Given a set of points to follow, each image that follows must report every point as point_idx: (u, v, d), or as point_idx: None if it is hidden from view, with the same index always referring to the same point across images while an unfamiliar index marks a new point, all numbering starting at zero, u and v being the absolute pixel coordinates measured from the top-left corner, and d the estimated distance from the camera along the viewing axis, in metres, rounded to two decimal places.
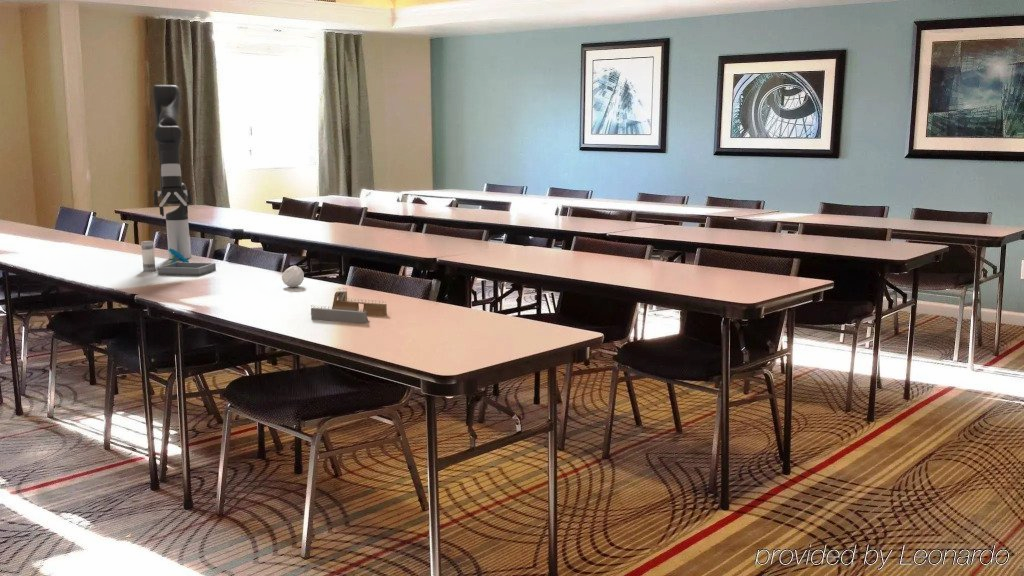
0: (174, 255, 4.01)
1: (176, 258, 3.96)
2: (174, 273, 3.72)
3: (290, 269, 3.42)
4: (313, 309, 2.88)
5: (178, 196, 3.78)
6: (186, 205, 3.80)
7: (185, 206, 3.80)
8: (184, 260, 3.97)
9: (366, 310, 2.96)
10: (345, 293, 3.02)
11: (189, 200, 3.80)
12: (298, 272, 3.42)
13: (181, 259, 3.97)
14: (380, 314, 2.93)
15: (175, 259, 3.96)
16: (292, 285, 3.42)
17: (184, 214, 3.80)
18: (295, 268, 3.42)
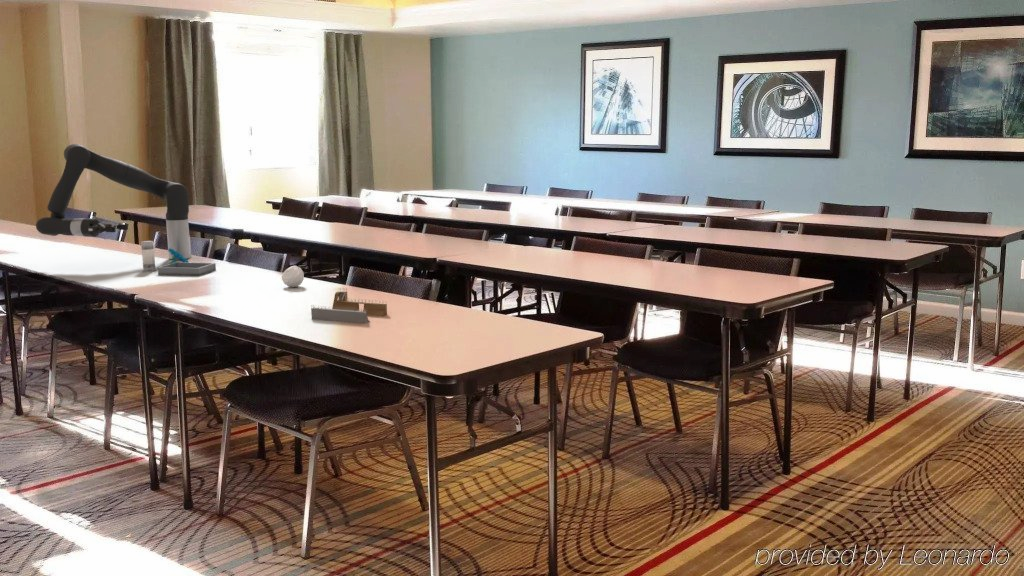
0: (174, 255, 4.01)
1: (176, 258, 3.96)
2: (174, 273, 3.72)
3: (290, 269, 3.42)
4: (313, 309, 2.88)
5: None
6: None
7: None
8: (184, 260, 3.97)
9: (366, 310, 2.96)
10: (345, 293, 3.02)
11: (98, 232, 3.77)
12: (298, 272, 3.42)
13: (181, 259, 3.97)
14: (380, 314, 2.93)
15: (175, 259, 3.96)
16: (292, 285, 3.42)
17: None
18: (295, 268, 3.42)
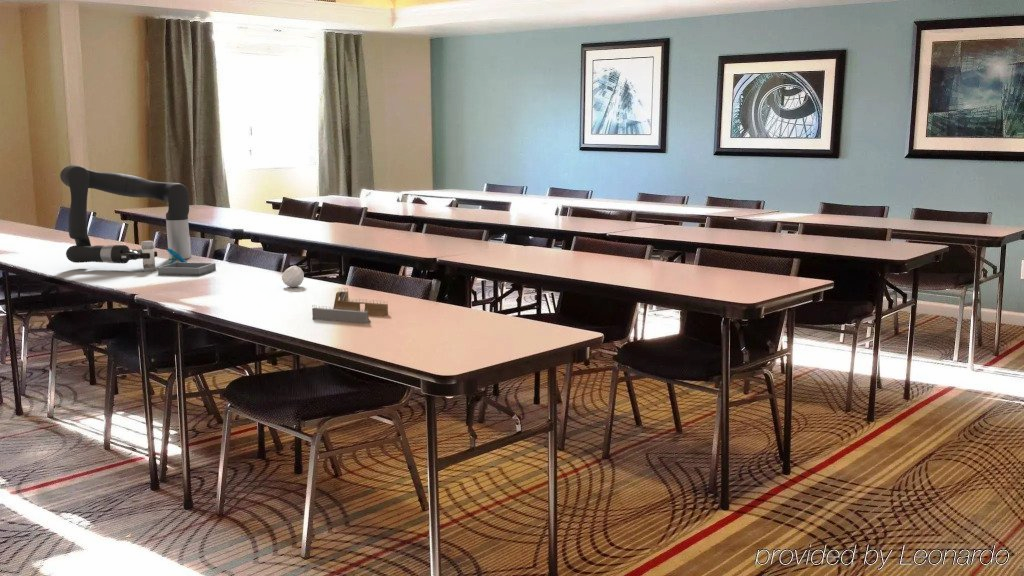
0: (173, 255, 4.01)
1: (174, 258, 3.95)
2: (174, 273, 3.72)
3: (290, 269, 3.42)
4: (314, 309, 2.88)
5: None
6: (140, 258, 3.80)
7: (141, 258, 3.80)
8: (182, 260, 3.96)
9: (367, 310, 2.96)
10: (346, 293, 3.02)
11: None
12: (298, 272, 3.42)
13: (179, 259, 3.97)
14: (381, 314, 2.93)
15: (173, 259, 3.96)
16: (292, 285, 3.42)
17: None
18: (295, 268, 3.42)
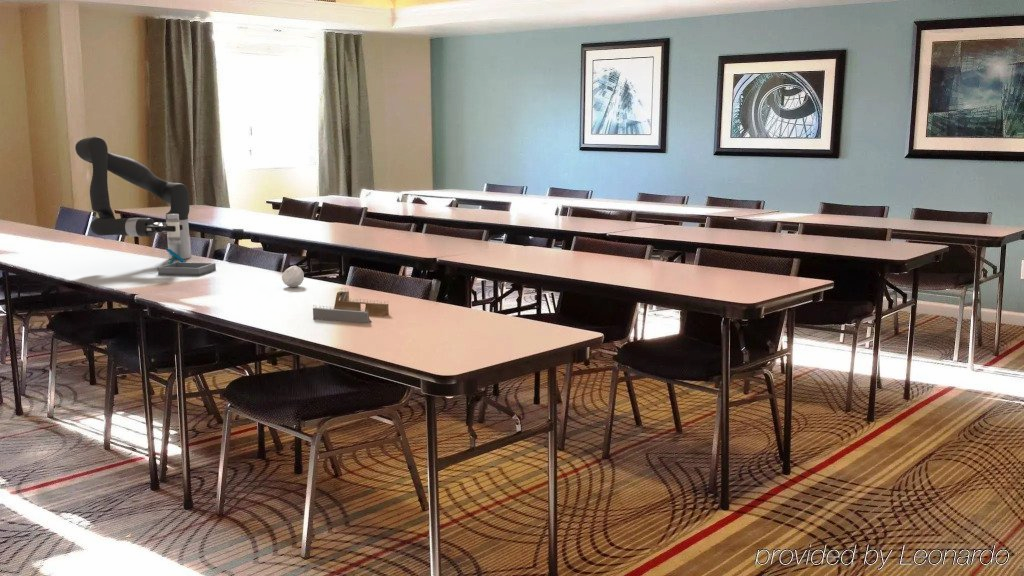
0: (173, 255, 4.01)
1: (173, 258, 3.95)
2: (174, 273, 3.72)
3: (290, 269, 3.42)
4: (315, 309, 2.88)
5: (157, 232, 3.76)
6: (165, 231, 3.73)
7: None
8: (181, 260, 3.96)
9: (368, 310, 2.96)
10: (347, 293, 3.02)
11: (158, 232, 3.72)
12: (298, 272, 3.42)
13: (179, 259, 3.97)
14: (382, 314, 2.93)
15: (172, 259, 3.95)
16: (292, 285, 3.42)
17: (174, 231, 3.73)
18: (295, 268, 3.42)
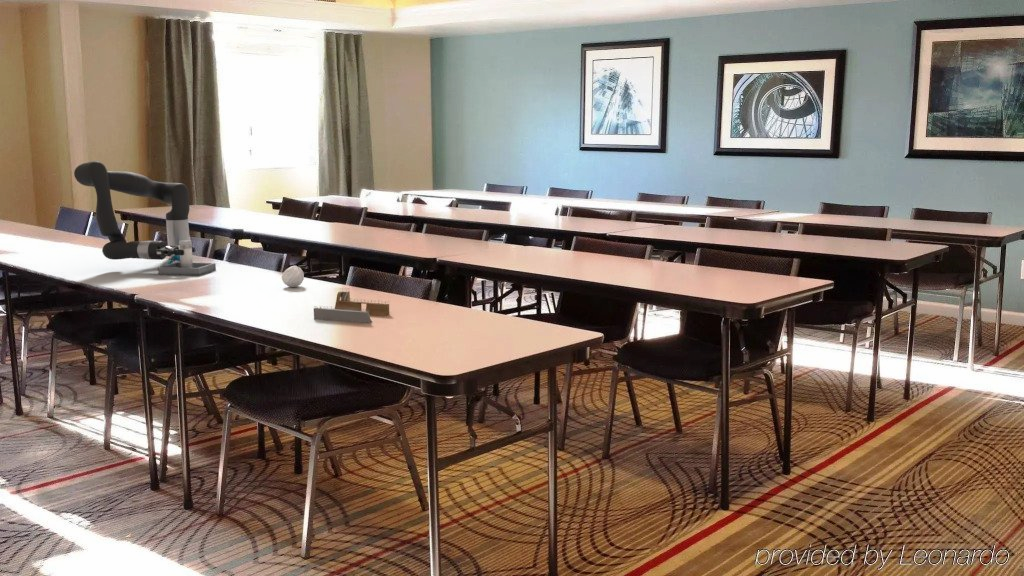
0: None
1: (172, 258, 3.95)
2: (174, 273, 3.72)
3: (290, 269, 3.42)
4: (316, 309, 2.88)
5: (168, 255, 3.76)
6: (173, 255, 3.72)
7: None
8: None
9: (369, 310, 2.96)
10: (348, 293, 3.02)
11: None
12: (298, 272, 3.42)
13: (178, 259, 3.97)
14: (383, 314, 2.93)
15: (171, 259, 3.95)
16: (292, 285, 3.42)
17: None
18: (295, 268, 3.42)
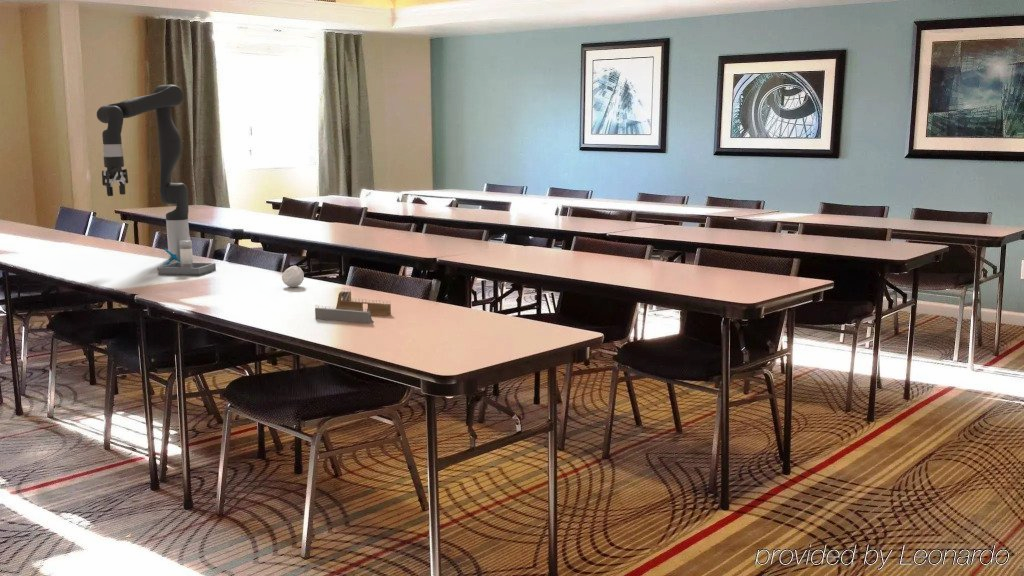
0: None
1: (170, 258, 3.95)
2: (174, 273, 3.72)
3: (290, 269, 3.42)
4: (317, 309, 2.88)
5: None
6: None
7: None
8: (178, 260, 3.96)
9: (370, 310, 2.95)
10: (349, 293, 3.02)
11: None
12: (298, 272, 3.42)
13: None
14: (384, 314, 2.93)
15: (170, 259, 3.95)
16: (292, 285, 3.42)
17: (108, 195, 3.83)
18: (295, 268, 3.42)
